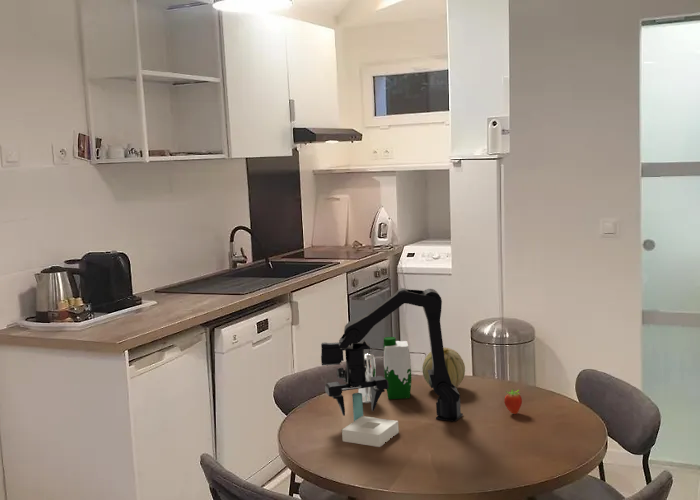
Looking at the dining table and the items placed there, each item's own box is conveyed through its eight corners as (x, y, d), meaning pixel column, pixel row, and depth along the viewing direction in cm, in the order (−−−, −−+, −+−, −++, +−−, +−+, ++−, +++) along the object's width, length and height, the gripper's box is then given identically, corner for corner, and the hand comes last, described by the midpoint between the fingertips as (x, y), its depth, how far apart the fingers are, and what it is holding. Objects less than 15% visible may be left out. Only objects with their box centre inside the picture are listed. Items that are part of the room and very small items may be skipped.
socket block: (398, 432, 217) (398, 420, 217) (379, 447, 207) (379, 434, 206) (362, 427, 223) (362, 416, 223) (342, 441, 213) (341, 429, 212)
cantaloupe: (443, 380, 265) (441, 339, 263) (475, 389, 254) (473, 346, 252) (413, 390, 256) (411, 348, 254) (445, 399, 244) (443, 355, 243)
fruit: (517, 417, 224) (517, 392, 223) (502, 415, 227) (501, 389, 226) (525, 412, 228) (524, 387, 227) (509, 409, 231) (508, 384, 230)
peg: (365, 421, 228) (363, 393, 227) (360, 425, 225) (359, 396, 224) (356, 420, 229) (355, 392, 228) (352, 423, 226) (350, 395, 225)
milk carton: (385, 392, 256) (382, 335, 253) (411, 391, 255) (408, 334, 253) (385, 400, 247) (382, 341, 245) (413, 399, 247) (410, 340, 244)
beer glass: (375, 403, 244) (372, 359, 242) (354, 403, 246) (352, 359, 244) (378, 397, 251) (376, 353, 249) (358, 396, 252) (356, 353, 251)
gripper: (376, 353, 235) (379, 401, 237) (319, 360, 230) (322, 409, 232) (387, 362, 224) (390, 412, 226) (327, 369, 220) (331, 420, 221)
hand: (358, 413), depth 227 cm, fingers open, 9 cm apart
